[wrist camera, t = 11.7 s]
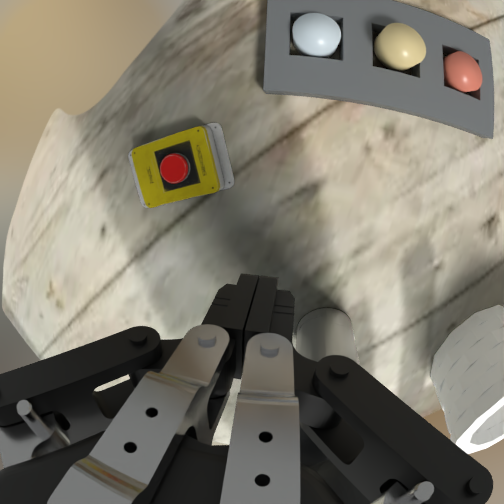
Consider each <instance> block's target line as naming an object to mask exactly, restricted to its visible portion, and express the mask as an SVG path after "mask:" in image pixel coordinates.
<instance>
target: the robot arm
mask: <svg viewBox="0 0 504 504" xmlns="http://www.w3.org/2000/svg"><path fill="white" fill-rule="evenodd" d="M277 286H278V278H277V277H268V276H260V279H259V276H258V275H250V274H241V275H240V277H239V280H238V282H237V285H233V284H226V285H225V286H223V287H222V288H220V289H219V290H218V292H217V294H216V296H215V299H214V300H213V302H212V305H211V306H210V308H209V310H208V312H207V314H206V316H205V318H204V320H203V322H202V324H201V325H199V326H196V327H193V328H192V329H190V330H189V331H188V332H187V333H186V335H185V336H184V338H182V339H172V340H160V335H159V333H158V332H157V331H156V330H155V329H153V328H151V327H146V326H137V327H132V328H129V329H127V330H124V331H122V332H119V333H116V334H114V335H111V336H108V337H105V338H103V339H100V340H97V341H95V342H92V343H89V344H86V345H84V346H81V347H78V348H75V349H72V350H70V351H67V352H64V353H61V354H58V355H56V356H53V357H50V358H47V359H44V360H41V361H38V362H35V363H33V364H30V365H27V366H24V367H21V368H18V369H15V370H12V371H9V372H6V373H3V374H0V453H1V458H2V462H3V466H4V469H2V470H1V471H0V504H485V503H486V502H487V501H488V499H489V498H490V496H491V493H492V490H493V480H492V476H491V474H490V472H489V471H488V470H487V469H486V468H485V467H484V466H482V465H481V464H480V463H478V462H477V461H476V460H475V459H473V458H472V457H471V456H469V455H468V454H467V453H466V452H465V451H463V450H462V449H461V448H460V447H458V446H457V445H456V444H455V443H453V442H452V441H451V440H450V439H448V438H447V437H446V436H445V435H443V434H442V433H441V432H440V431H438V430H437V429H436V428H435V427H433V426H432V425H431V424H430V423H428V422H427V421H426V420H425V419H424V418H422V417H421V416H420V415H419V414H417V413H416V412H415V411H414V410H413V409H411V408H410V407H409V406H408V405H407V404H405V403H404V402H403V401H402V400H400V399H399V398H398V397H397V396H396V395H394V394H393V393H392V392H391V391H390V390H388V389H387V388H386V387H385V386H384V385H382V384H381V383H380V382H379V381H378V380H376V379H375V378H374V377H373V376H372V375H370V374H369V373H368V372H367V371H366V370H365V369H363V368H362V367H361V366H360V363H359V358H358V352H357V347H356V342H355V337H354V332H353V327H352V323H351V320H350V318H349V317H348V316H347V315H346V314H345V313H343V312H342V311H339V310H337V309H333V308H322V309H317V310H314V311H312V312H310V313H308V314H307V315H305V316H304V317H303V318H302V319H301V320H300V322H299V324H298V327H297V337H296V350H295V348H294V347H293V344H292V333H293V318H294V301H295V299H294V297H293V295H292V294H291V292H290V291H284V290H277ZM242 373H243V374H242ZM128 374H129V377H130V379H129V380H127V381H124V382H122V383H119V384H117V385H115V386H112V387H110V388H107V389H105V390H102V391H99V392H96V391H94V389H95V388H97V387H98V386H101V385H103V384H106V383H108V382H111V381H113V380H115V379H118V378H120V377H123V376H125V375H128ZM241 377H242V381H241V387H240V393H238V396H237V401H236V408H235V414H234V420H233V426H232V433H231V439H230V445H220V446H219V445H216V446H215V445H214V446H212V439H213V436H214V433H215V430H216V428H217V425H218V423H219V420H220V418H221V415H222V413H223V411H224V408H225V406H226V403H227V400H228V398H229V395H230V388H231V385H232V382H233V378H236V379H241Z"/></svg>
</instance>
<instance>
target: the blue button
mask: <svg viewBox="0 0 504 504" xmlns="http://www.w3.org/2000/svg"><path fill="white" fill-rule="evenodd" d="M340 39H341V31H340V28H339V26H338V24H337V23H336V22H335V21H334V20H333V19H332V18H330V17H328V16H326V15H324V14H320V13H308V14H305V15H302V16H301V17H299V18H298V19H297V20H296V21H295V23H294V25H293V43H294V46H295V48H296V50H297V51H298V52H299V53H300V54H301V55H302V56H308V57H318V58H329V57H331V56H332V55H333V54H334V52H335V51H336V48H337V46H338V44H339V42H340Z"/></svg>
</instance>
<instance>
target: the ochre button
mask: <svg viewBox="0 0 504 504" xmlns="http://www.w3.org/2000/svg"><path fill="white" fill-rule="evenodd" d="M374 52H375V54H376V56H377V58H378V59H379V61H380V62H381V63H382V64H383V65H385V66H386V67H388V68H389V69H392V70H395V71H405V70H407V69H409V68H411V67H413V66H415V65H416V64H418V63H420V62H421V61H423V59H424V58H425V55H426V46H425V43H424V41H423V39H422V37H421V36H420V35H419V33H418V32H417V31H415V30H414V29H413V28H411V27H410V26H408V25H406V24H402V23H391V24H389V25H387V26H386V27H385V28H384V29H383V30H382V32H381V33H380V34H379V35H378V36H377V38H376V39H375V41H374Z"/></svg>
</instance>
